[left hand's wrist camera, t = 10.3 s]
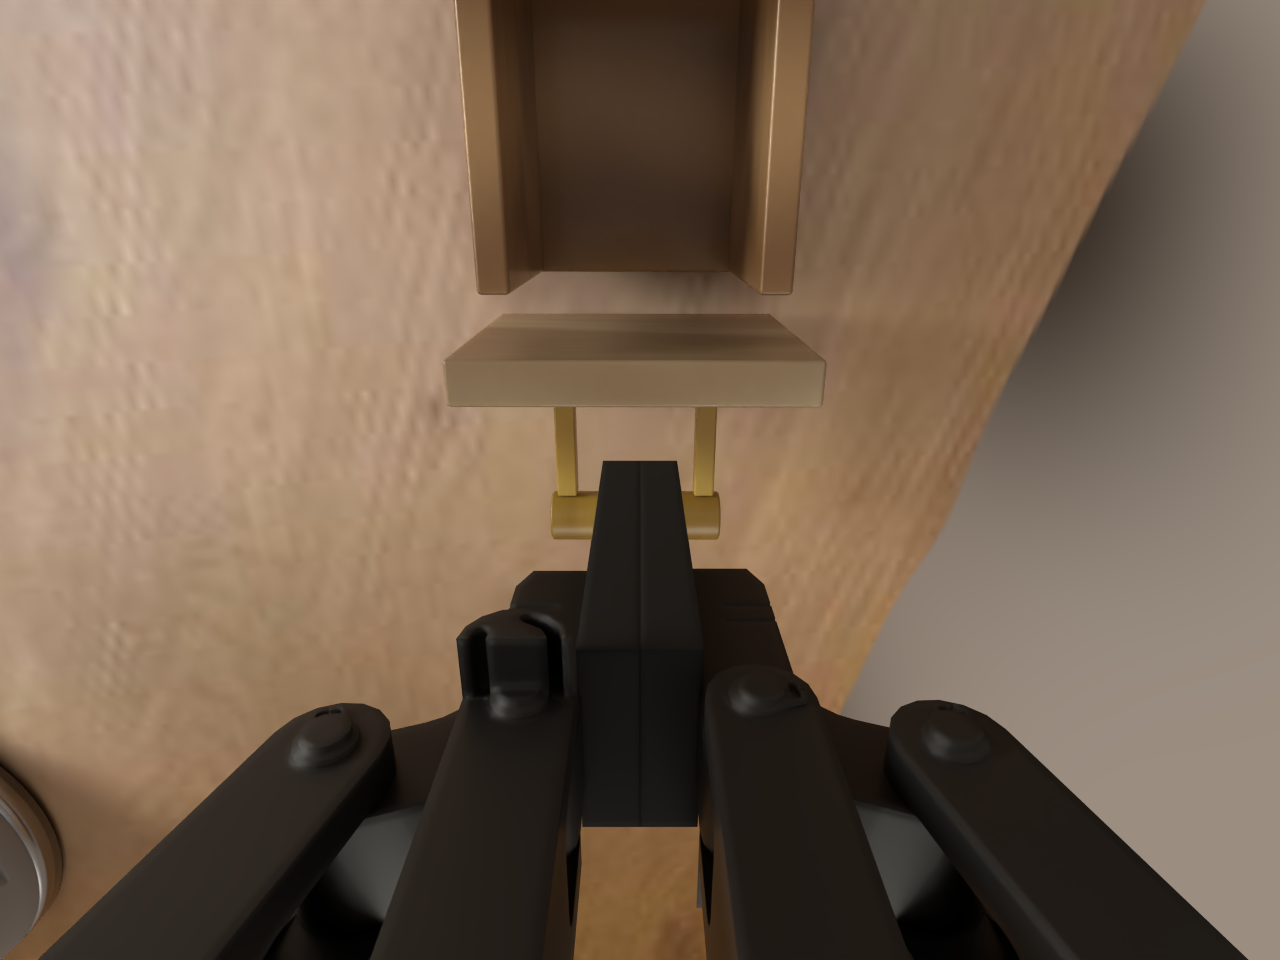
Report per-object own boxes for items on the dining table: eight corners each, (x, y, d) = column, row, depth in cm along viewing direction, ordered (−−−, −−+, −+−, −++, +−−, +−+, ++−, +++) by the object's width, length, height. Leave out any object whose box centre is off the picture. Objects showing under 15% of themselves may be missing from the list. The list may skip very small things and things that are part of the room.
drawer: (759, 483, 27) (805, 589, 20) (512, 483, 27) (464, 589, 20) (807, -237, 19) (913, -514, 12) (463, -238, 19) (353, -516, 12)
